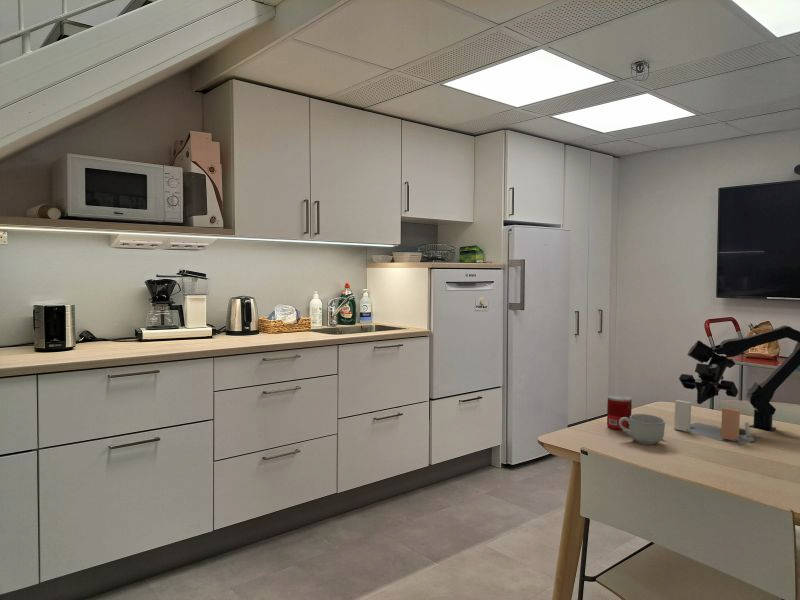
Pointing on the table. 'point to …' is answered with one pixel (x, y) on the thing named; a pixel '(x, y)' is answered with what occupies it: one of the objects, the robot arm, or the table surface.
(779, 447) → the table surface
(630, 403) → the canned food
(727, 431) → the tan rectangular block
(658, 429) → the teacup
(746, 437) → the panel
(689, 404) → the cream paddle
